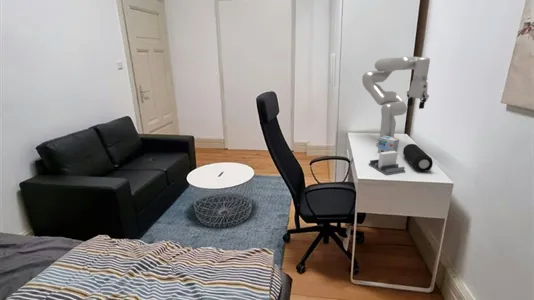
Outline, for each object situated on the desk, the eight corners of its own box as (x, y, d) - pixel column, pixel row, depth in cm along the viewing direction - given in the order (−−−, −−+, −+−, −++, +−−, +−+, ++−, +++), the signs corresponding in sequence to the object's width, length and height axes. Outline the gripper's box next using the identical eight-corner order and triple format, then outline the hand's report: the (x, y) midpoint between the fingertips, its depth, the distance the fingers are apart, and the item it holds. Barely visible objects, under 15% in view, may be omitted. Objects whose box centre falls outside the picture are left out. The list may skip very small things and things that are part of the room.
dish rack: (368, 164, 177) (369, 160, 176) (386, 162, 181) (387, 157, 180) (385, 175, 163) (386, 170, 162) (405, 172, 167) (405, 167, 166)
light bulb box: (377, 152, 199) (379, 137, 195) (382, 150, 203) (384, 135, 199) (392, 156, 191) (394, 140, 187) (397, 154, 195) (399, 138, 191)
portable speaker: (432, 173, 165) (435, 156, 162) (414, 172, 166) (416, 156, 163) (416, 157, 189) (419, 142, 185) (400, 157, 190) (403, 142, 187)
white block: (392, 164, 174) (394, 150, 172) (395, 166, 172) (397, 152, 169) (377, 166, 172) (379, 152, 169) (381, 168, 169) (383, 154, 166)
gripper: (436, 80, 169) (431, 109, 175) (414, 77, 185) (410, 104, 190) (425, 80, 167) (420, 110, 173) (404, 77, 183) (400, 104, 188)
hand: (415, 107), depth 181 cm, fingers open, 9 cm apart
